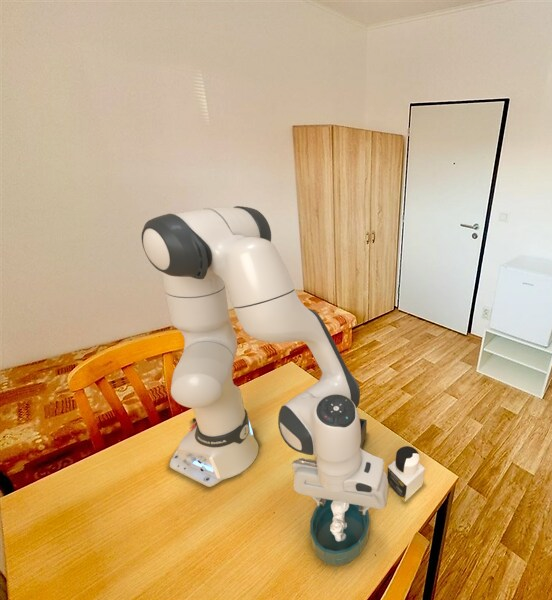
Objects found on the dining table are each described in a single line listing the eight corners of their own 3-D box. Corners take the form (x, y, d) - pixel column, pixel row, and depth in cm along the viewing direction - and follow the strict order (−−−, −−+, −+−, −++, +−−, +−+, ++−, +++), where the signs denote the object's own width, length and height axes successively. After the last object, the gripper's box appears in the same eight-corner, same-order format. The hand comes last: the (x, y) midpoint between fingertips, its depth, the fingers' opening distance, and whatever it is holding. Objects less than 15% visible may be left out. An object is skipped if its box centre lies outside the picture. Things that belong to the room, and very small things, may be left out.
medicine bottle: (386, 483, 86) (388, 453, 81) (404, 467, 91) (407, 437, 86) (404, 502, 82) (408, 472, 76) (423, 485, 86) (427, 455, 81)
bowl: (301, 558, 69) (300, 546, 67) (324, 499, 81) (323, 487, 79) (360, 572, 68) (360, 560, 66) (374, 510, 80) (375, 498, 77)
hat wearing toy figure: (336, 511, 78) (334, 480, 73) (351, 512, 78) (351, 481, 73) (328, 553, 70) (326, 521, 65) (345, 554, 70) (345, 522, 65)
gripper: (284, 471, 63) (291, 513, 69) (385, 490, 60) (383, 531, 66) (298, 444, 68) (304, 485, 74) (391, 460, 66) (389, 501, 72)
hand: (342, 507), depth 70 cm, fingers open, 8 cm apart
